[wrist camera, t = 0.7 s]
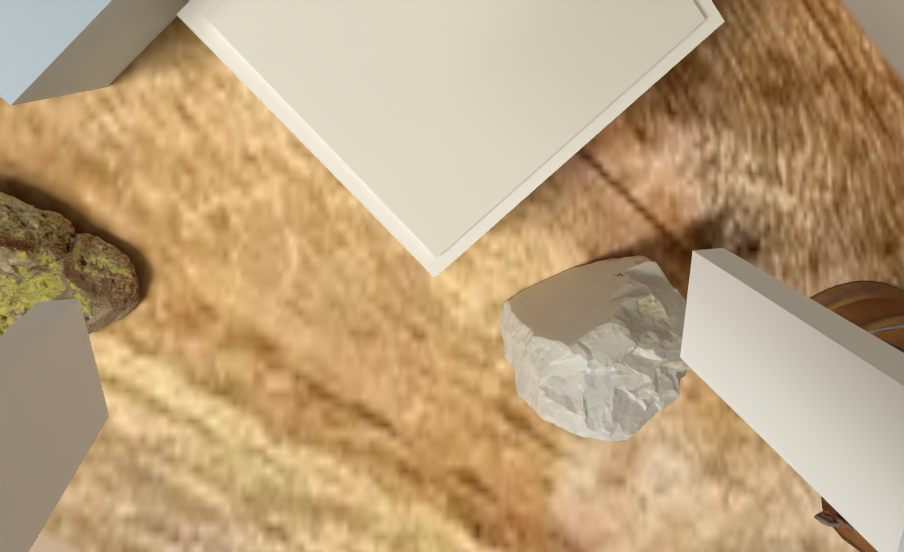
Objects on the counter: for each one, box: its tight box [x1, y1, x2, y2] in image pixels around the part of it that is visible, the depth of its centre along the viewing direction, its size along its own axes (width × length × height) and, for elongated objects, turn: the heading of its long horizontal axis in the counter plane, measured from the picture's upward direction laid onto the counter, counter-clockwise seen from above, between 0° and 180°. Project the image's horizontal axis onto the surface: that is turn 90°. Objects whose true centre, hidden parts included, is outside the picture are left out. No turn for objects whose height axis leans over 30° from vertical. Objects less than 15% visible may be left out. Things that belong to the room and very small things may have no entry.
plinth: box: [176, 0, 725, 278], centre depth 31 cm, size 16×18×6 cm
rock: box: [0, 192, 140, 336], centre depth 34 cm, size 12×7×10 cm
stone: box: [500, 255, 692, 441], centre depth 35 cm, size 10×5×12 cm, turn 115°
